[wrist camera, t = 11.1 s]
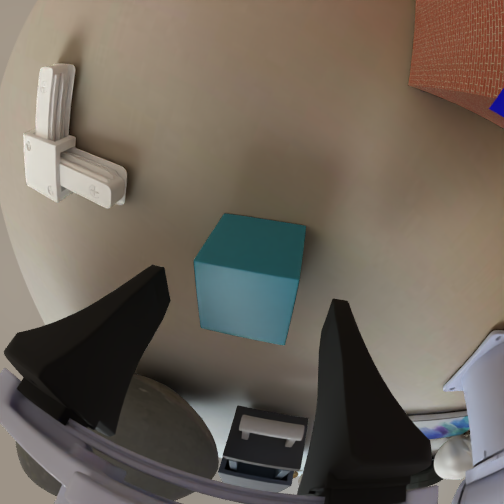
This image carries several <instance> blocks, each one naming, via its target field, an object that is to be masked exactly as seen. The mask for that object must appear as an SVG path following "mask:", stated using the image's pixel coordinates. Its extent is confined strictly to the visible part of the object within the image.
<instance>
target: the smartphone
mask: <svg viewBox="0 0 504 504" xmlns="http://www.w3.org/2000/svg"><path fill="white" fill-rule="evenodd" d="M408 417H409V418H410V419H411V420H412V422H413V423H414V424H415V425H416V426H417V427H418V428H419V429H420V430H421V432H422V433H423V434H424V435H425V436H426V437H427V438H428V439H437V438H444V437H451V436H457V435H461V434H463V433H465V432H466V431H468V430H469V429H470V428H469V420H468V413H467V411H460V412H452V413H442V414H430V415H413V416H408Z"/></svg>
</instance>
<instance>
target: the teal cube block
mask: <svg viewBox="0 0 504 504" xmlns="http://www.w3.org/2000/svg"><path fill="white" fill-rule="evenodd" d="M305 233H306V226H304V225H298V224H292V223H286V222H279V221H273V220H267V219H260V218H254V217H247V216H240V215H234V214H227V213H224V215H223V216H222V218H221V219H220V221H219V222H218V224H217V225H216V227H215V228H214V230H213V231H212V233H211V234H210V236H209V237H208V239H207V240H206V242H205V243H204V245H203V247H202V248H201V250H200V251H199V253H198V254H197V256H196V257H195V259H194V272H195V282H196V292H197V301H198V310H199V318H200V326H201V328H204V329H208V330H212V331H216V332H221V333H225V334H229V335H234V336H239V337H243V338H248V339H253V340H258V341H263V342H268V343H273V344H279V345H285V343H286V339H287V334H288V330H289V326H290V322H291V317H292V313H293V308H294V304H295V299H296V295H297V290H298V285H299V281H300V274H301V266H302V258H303V250H304V241H305Z"/></svg>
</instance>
